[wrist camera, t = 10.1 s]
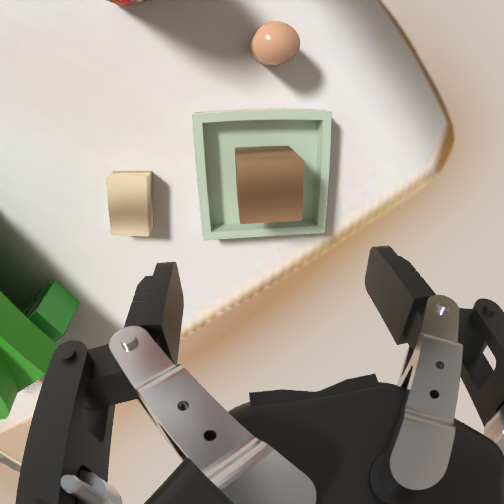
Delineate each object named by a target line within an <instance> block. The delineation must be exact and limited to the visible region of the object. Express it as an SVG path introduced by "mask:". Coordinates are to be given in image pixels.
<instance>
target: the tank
mask: <svg viewBox="0 0 504 504" xmlns="http://www.w3.org/2000/svg"><path fill="white" fill-rule="evenodd" d="M79 303H80V302H78V301H77V300H76V299H75V298H74V297H73V296H72V295H71V294H70V293H69V292H68V291H67V290H66V289H65V288H64V287H63V286H62V285H61V284H60V283H59V282H58V281H57V280H56V281H55V282H54V283H53V282H52V281H51V280H50V281H49V282H48V283H47V285H46V286H45V287H44V288H43V289H42V290H41V291H40V292H39V294H38V295H37V296H36V297H35V298H34V299H33V300H32V302H31V303H30V304H29V305H28V306H27V308H26V309H25V310H24V311H23V312H21V311H20V310H19V309H18V308H17V307H16V306H15V305H14V304H13V303H12V302H11V301H10V300H9V299H8V298H7V297H6V296H5V295H4V294H3V293H2V292H1V291H0V419H6V418H7V417H8V415H9V412H10V410H11V407H12V405H13V402H14V400H15V397H16V395H17V393H18V392H19V391H21V390H22V389H24V388H25V387H27V386H29V385H30V384H32V383H33V382H35V381H36V380H38V379H40V378H41V377H43V376H44V375H46V372H47V369H48V366H49V364H50V361H51V358H52V355H53V353H54V351H55V350H56V349H57V348H58V346H59V345H57V344H56V343H55V341H57V340H58V339H59V338H61V337H62V336H63V335H64V333H65V331H66V329H67V327H68V325H69V323H70V321H71V319H72V317H73V315H74V313H75V311H76V309H77V307H78V305H79Z"/></svg>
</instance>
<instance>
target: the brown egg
mask: <svg viewBox="0 0 504 504" xmlns="http://www.w3.org/2000/svg"><path fill="white" fill-rule="evenodd" d="M299 47H300V39H299V36H298V34H297V32H296V31H295V30H294V29H293V28H292V27H291V26H290V25H288V24H286V23H283V22H269V23H266V24H264V25H263V26H261V27H260V28H259V29H258V30H257V32H256V34H255V35H254V37H253V39H252V41H251V44H250V51H251V54H252V56H253V57H254V58H255V59H256V60H257V61H258V62H259V63H261V64H264V65H269V66H273V65H278V64H280V63H283V62H285V61H287V60H290V59H291V58H293V57H294V56H295V55H296V54H297V52H298V50H299Z"/></svg>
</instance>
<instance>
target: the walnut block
mask: <svg viewBox="0 0 504 504" xmlns="http://www.w3.org/2000/svg"><path fill="white" fill-rule="evenodd" d="M235 166H236V186H237V201H238V210H239V219H240V224H252V223H268V222H286V221H302V210H303V181H304V160H303V159H302V158H301V157H300V156H299V155H298V154H297V153H296V152H295V151H294V150H293V149H292V148H291V147H289V146H258V147H237V148H235Z"/></svg>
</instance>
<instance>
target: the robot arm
mask: <svg viewBox="0 0 504 504" xmlns="http://www.w3.org/2000/svg"><path fill="white" fill-rule="evenodd" d="M365 286H366V290H367V292H368V294H369V295H370V297H371V299H372V301H373V302H374V304H375V306H376V308H377V309H378V311H379V313H380V314H381V316H382V318H383V320H384V322H385V324H386V325H387V327H388V329H389V331H390V332H391V334H392V336H393V338H394V340H395V342H396V344H397V345H399V344H404V343H408V344H409V348H408V350H407V353H406V356H405V360H404V363H403V367H402V370H401V373H400V377H399V380H398V383H397V385H394V384H389V383H381V382H378V380H377V378H376V375H375V374H372V375H367V376H362V377H357V378H352V379H347V380H344V381H342V382H340V383H338V384H335V385H333V386H330V387H328V388H326V389H323V390H321V391H318V392H308V391H294V390H274V391H264V392H255V393H254V392H253V393H249V395H250V402H248V403H245V404H242V405H240V406H238V407H235V408H234V409H232V410H230V411H229V412H227V411H226V410H225V409H224V408H223V407H222V406H221V405H220V404H219V403H218V402H217V401H216V400H215V399H214V398H213V397H212V396H211V395H210V394H209V393H208V392H207V391H206V390H205V389H204V388H203V387H202V386H201V385H200V384H199V383H198V382H197V381H196V379H195V378H194V377H193V376H192V375H191V374H190V373H189V372H188V371H187V370H186V369H185V368H184V367H183V366H182V365H180V364H178V365H177V359H178V350H179V341H180V332H181V324H182V316H183V307H184V301H183V292H182V288H181V283H180V278H179V273H178V268H177V264H176V262H166V263H157V265H156V268H155V271H154V274H153V276H145V277H144V279H143V280H142V281H141V282H140V283H139V284H138V286H137V289H136V292H135V295H134V298H133V303H132V304H131V307H130V310H129V313H128V316H127V320H126V323H125V326H124V328H122V329H120V330H118V331H117V332H116V333H114V335H113V336H112V337H111V339H110V342H109V344H107V345H104V346H101V347H97V348H93V349H89V350H87V348H86V346H85V345H84V344H83V343H82V342H80V341H68V342H65V343H63V344H62V345H60V346H59V347H58V348H57V349H56V350H55V351H54V353H53V355H52V358H51V361H50V364H49V366H48V369H47V372H46V375H45V378H44V381H43V384H42V387H41V391H40V394H39V397H38V400H37V404H36V407H35V411H34V414H33V418H32V422H31V426H30V430H29V434H28V438H27V442H26V447H25V451H24V456H23V461H22V466H21V471H20V477H19V483H18V489H17V497H16V504H122V499H121V496H120V495H119V493H118V491H117V490H116V489H115V488H114V487H112V486H111V485H109V484H108V483H107V481H108V466H109V454H110V444H111V434H112V426H113V418H114V410H115V404H118V403H122V402H126V401H130V400H134V399H137V400H138V401H139V403H140V404H141V405H142V407H143V408H144V410H145V411H146V413H147V414H148V415H149V417H150V418H151V420H152V421H153V422H154V423H155V425H156V426H157V428H158V429H159V430H160V432H161V433H162V434H163V436H164V437H165V439H166V440H167V441H168V443H169V444H170V445H171V447H172V448H173V449H174V450H175V452H176V453H177V454H178V455H179V457H180V458H181V459H182V460H183V462H182V463H181V464H180V465H179V466H178V467H177V468H176V470H175V471H174V472H173V473H172V474H171V475H170V476H169V477H168V478H167V480H166V481H165V482H164V483H163V484H162V485H161V486H160V487H159V488H158V489H157V490H156V491H155V493H154V494H153V495H152V496H151V497H150V498H149V499H148V500H147V501H146V502H145V503H144V504H504V312H503V311H502V309H501V308H500V307H499V306H498V305H497V304H496V303H495V302H493V301H491V300H488V299H479V300H477V301H476V302H475V305H474V307H473V309H463V308H459V307H458V305H457V304H456V303H455V302H454V301H453V300H452V299H450V298H448V297H446V296H443V295H436V294H435V293H434V292H433V290H432V289H431V288H430V286H429V285H428V284H427V283H426V282H425V280H424V279H423V278H422V277H420V274H419V273H418V272H417V271H416V270H415V268H414V267H413V266H412V265H411V263H410V262H408V261H407V260H405V259H404V258H402V257H401V256H398V255H397V254H396V253H395V252H394V251H393V249H392V248H391V247H390V246H378V247H372V248H371V250H370V255H369V260H368V265H367V271H366V276H365ZM487 345H488V346H489V348H490V350H491V351H492V353H493V355H494V356H495V358H496V368H495V370H494V371H493V369H492V367H491V366H490V364H489V362H488V361H487V359H486V357H485V356H484V354H483V351H484V350H485V348H486V346H487ZM460 377H461V378H462V380H463V382H464V384H465V386H466V388H467V390H468V392H469V394H470V397H471V398H472V400H473V403H474V405H475V407H476V409H477V412H478V414H479V416H480V418H481V420H482V423H483V425H484V427H485V428H484V435H483V434H481V433H479V432H478V431H476V430H474V429H472V428H471V427H469V426H467V425H465V424H464V423H462V422H460V421H459V420H456V419H455V418H454V415H455V409H456V404H457V397H458V390H459V382H460Z"/></svg>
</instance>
